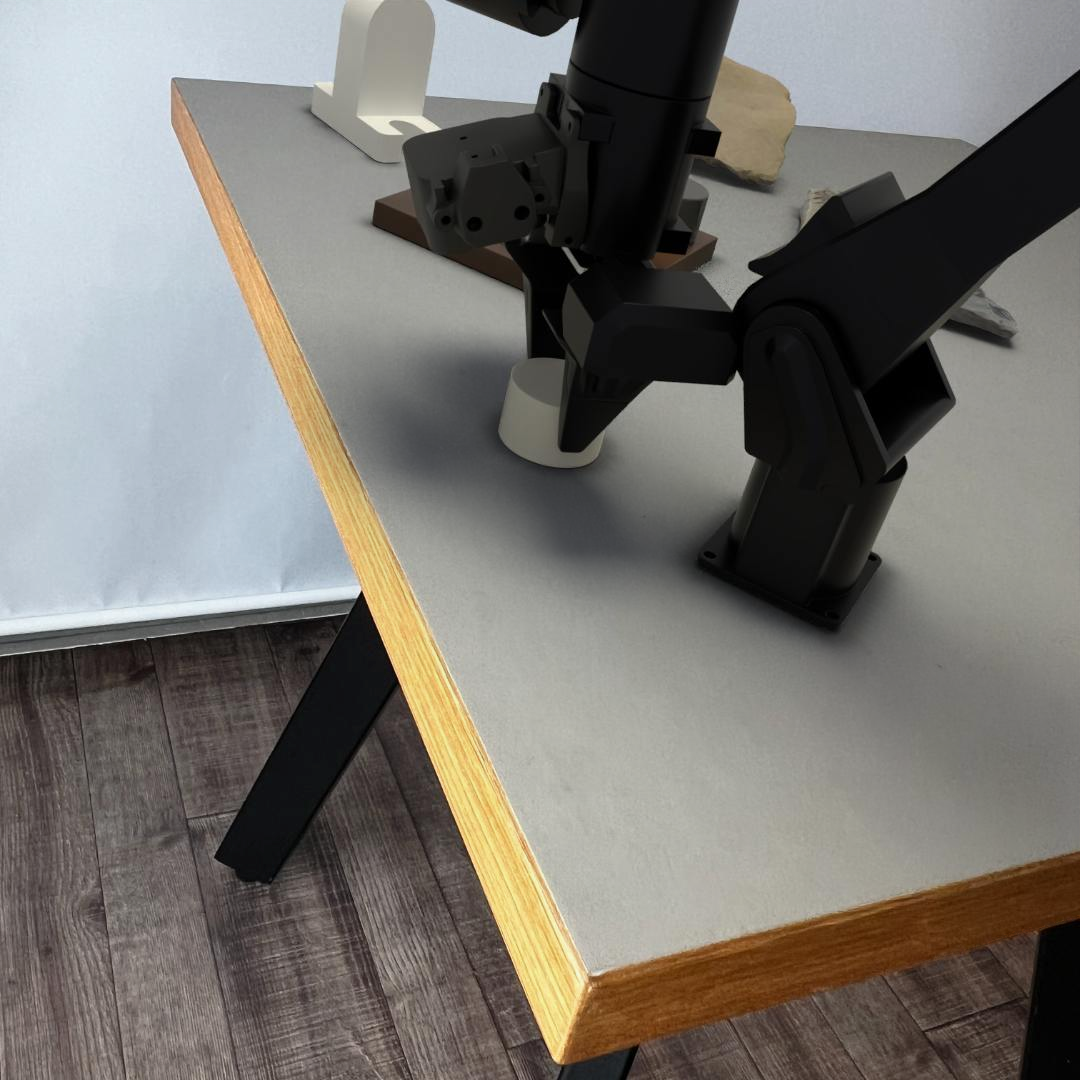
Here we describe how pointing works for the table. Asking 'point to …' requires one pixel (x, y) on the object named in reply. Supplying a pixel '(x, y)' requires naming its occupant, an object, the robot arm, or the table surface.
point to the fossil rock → (971, 312)
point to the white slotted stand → (380, 76)
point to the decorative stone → (750, 122)
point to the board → (495, 259)
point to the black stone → (693, 206)
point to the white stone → (539, 415)
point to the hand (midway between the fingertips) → (553, 420)
